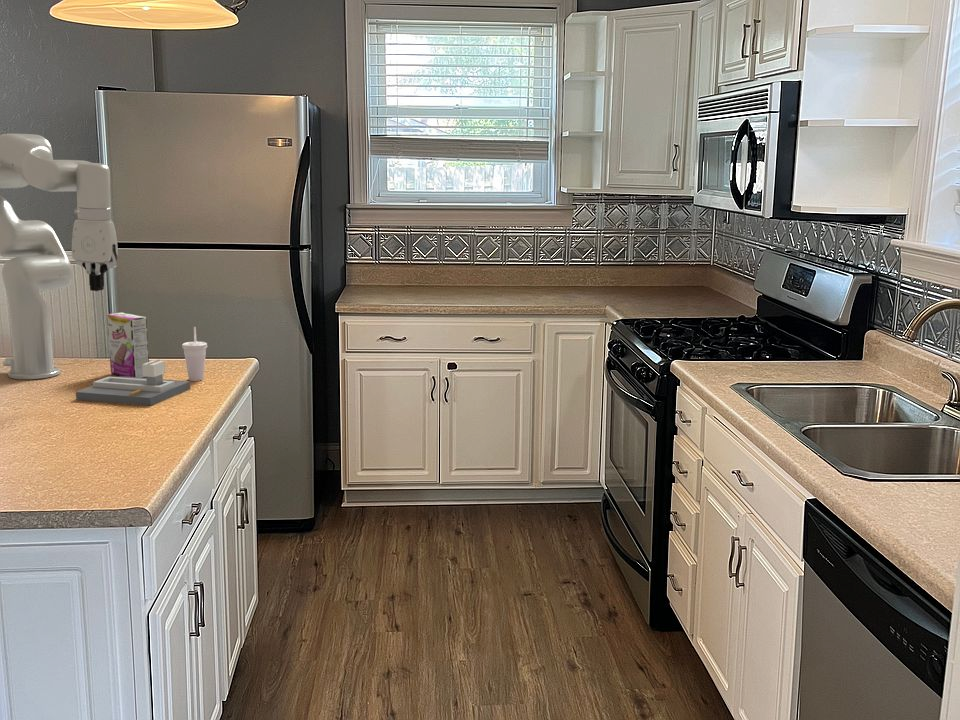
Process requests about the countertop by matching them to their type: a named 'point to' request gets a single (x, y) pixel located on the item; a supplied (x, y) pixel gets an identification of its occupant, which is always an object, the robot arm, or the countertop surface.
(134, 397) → the board
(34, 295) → the robot arm
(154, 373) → the fader knob
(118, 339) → the candy bar box
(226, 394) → the countertop surface
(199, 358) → the smoothie
